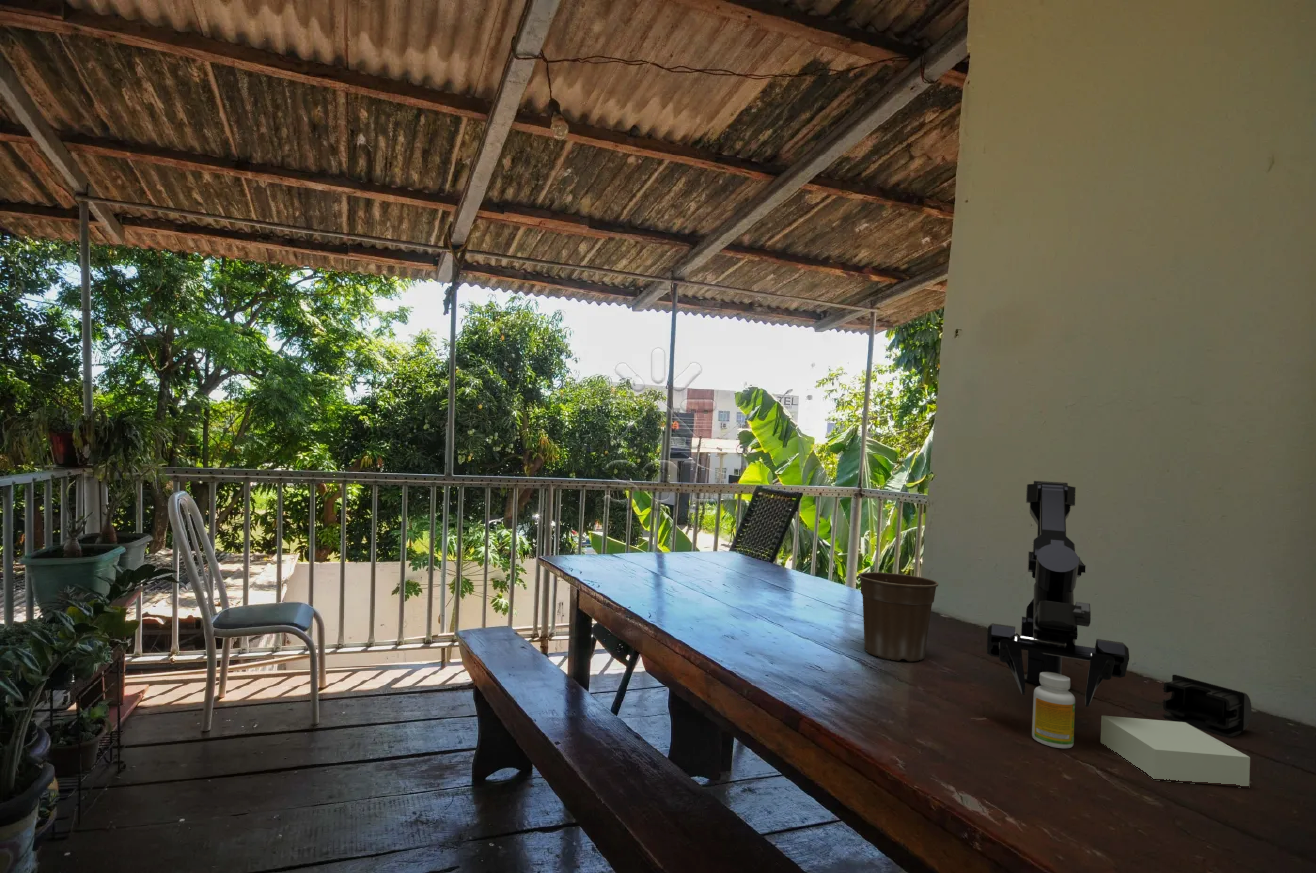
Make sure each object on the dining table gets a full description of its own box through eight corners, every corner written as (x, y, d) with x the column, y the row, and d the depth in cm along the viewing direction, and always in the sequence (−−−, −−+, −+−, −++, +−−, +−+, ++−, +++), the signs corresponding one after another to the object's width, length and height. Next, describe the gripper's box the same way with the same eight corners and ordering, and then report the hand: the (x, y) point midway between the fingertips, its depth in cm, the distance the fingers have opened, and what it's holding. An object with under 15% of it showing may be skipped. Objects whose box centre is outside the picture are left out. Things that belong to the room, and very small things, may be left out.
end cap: (1251, 733, 110) (1252, 690, 110) (1232, 739, 107) (1233, 696, 107) (1179, 711, 119) (1180, 672, 119) (1159, 716, 115) (1160, 676, 115)
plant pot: (868, 639, 156) (872, 568, 157) (943, 654, 147) (946, 579, 147) (843, 653, 143) (847, 576, 143) (923, 671, 133) (927, 588, 134)
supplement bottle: (1079, 751, 98) (1082, 683, 98) (1039, 746, 99) (1041, 679, 99) (1065, 737, 103) (1067, 672, 104) (1026, 732, 104) (1029, 668, 105)
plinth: (1100, 742, 102) (1101, 715, 102) (1184, 749, 101) (1184, 722, 101) (1153, 779, 90) (1154, 749, 90) (1249, 788, 89) (1250, 757, 89)
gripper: (990, 572, 110) (985, 657, 100) (1129, 589, 101) (1139, 683, 91) (989, 613, 116) (984, 696, 106) (1120, 631, 108) (1128, 724, 98)
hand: (1054, 699), depth 100 cm, fingers open, 8 cm apart
